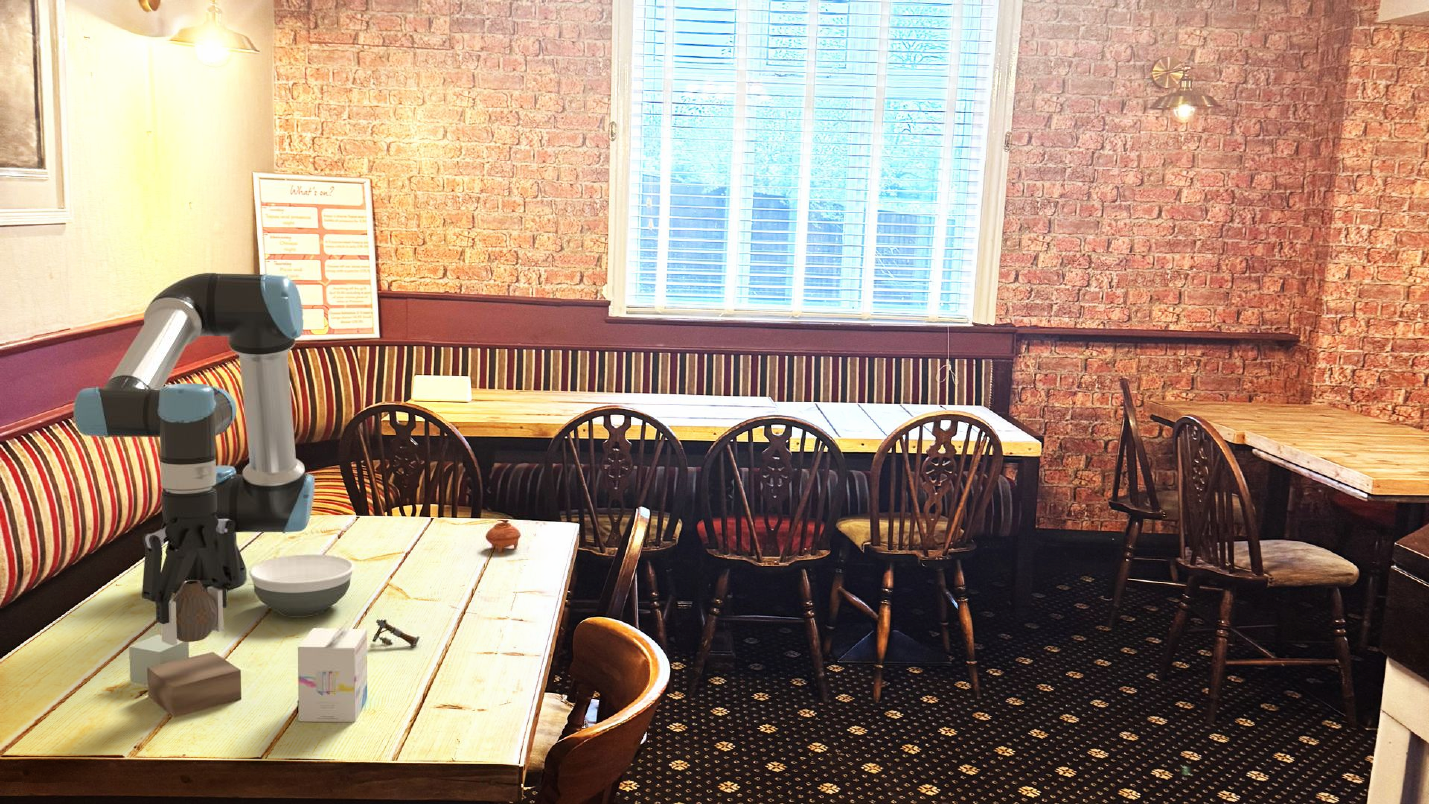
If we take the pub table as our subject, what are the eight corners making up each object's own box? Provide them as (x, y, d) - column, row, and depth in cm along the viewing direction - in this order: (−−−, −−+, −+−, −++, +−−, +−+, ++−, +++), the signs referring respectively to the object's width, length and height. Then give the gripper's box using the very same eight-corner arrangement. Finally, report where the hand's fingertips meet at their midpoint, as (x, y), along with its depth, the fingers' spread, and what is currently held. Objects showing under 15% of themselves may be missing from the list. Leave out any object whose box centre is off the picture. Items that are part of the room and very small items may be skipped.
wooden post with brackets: (370, 636, 202) (380, 614, 201) (410, 657, 201) (420, 635, 201) (366, 640, 200) (376, 618, 199) (406, 660, 200) (416, 639, 199)
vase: (198, 647, 170) (197, 590, 168) (157, 642, 171) (155, 586, 170) (226, 633, 176) (226, 577, 175) (187, 628, 178) (186, 573, 176)
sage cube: (130, 682, 180) (129, 646, 179) (159, 669, 186) (158, 634, 185) (160, 688, 178) (159, 652, 177) (189, 675, 184) (188, 639, 183)
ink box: (312, 699, 176) (311, 615, 174) (368, 699, 177) (368, 616, 175) (297, 722, 168) (296, 635, 166) (355, 722, 169) (355, 636, 167)
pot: (520, 553, 259) (513, 525, 258) (487, 560, 259) (480, 532, 258) (526, 543, 267) (519, 515, 266) (493, 549, 267) (487, 522, 266)
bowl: (255, 631, 204) (254, 587, 203) (245, 600, 221) (244, 559, 219) (363, 619, 213) (362, 576, 212) (345, 590, 229) (344, 550, 228)
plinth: (148, 698, 175) (147, 667, 174) (213, 681, 182) (213, 651, 181) (174, 719, 168) (173, 686, 167) (241, 701, 175) (240, 670, 174)
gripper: (138, 503, 160) (143, 660, 163) (263, 481, 176) (265, 624, 180) (109, 495, 164) (115, 648, 167) (233, 474, 181) (236, 614, 184)
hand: (192, 635), depth 173 cm, fingers closed on vase, 7 cm apart
